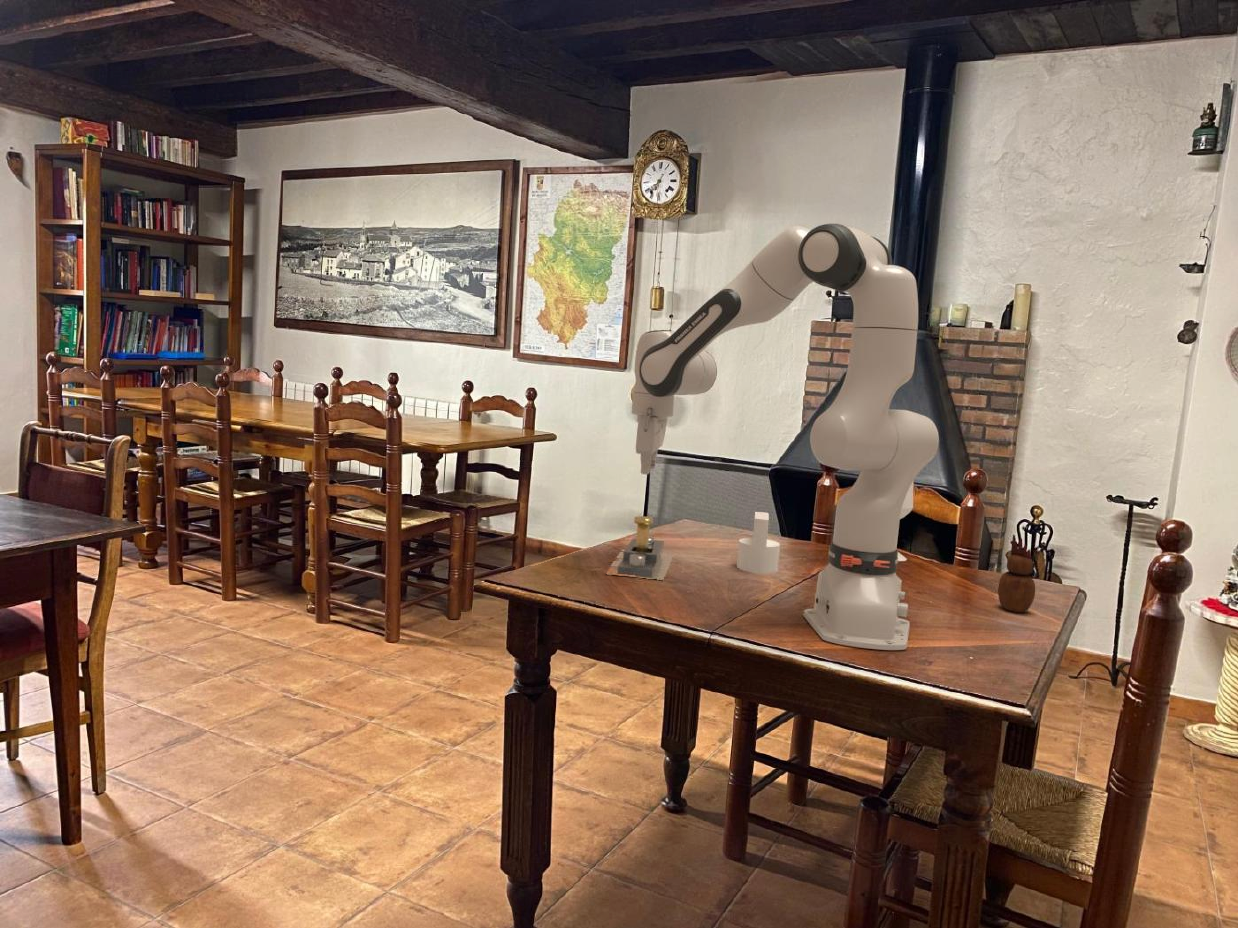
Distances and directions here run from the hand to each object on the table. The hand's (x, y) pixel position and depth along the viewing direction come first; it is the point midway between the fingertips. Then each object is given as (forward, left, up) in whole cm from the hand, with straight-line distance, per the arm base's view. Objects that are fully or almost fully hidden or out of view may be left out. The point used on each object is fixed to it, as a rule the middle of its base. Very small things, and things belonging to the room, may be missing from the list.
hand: (648, 471), depth 193 cm
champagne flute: (+34, -58, -21) cm, 70 cm away
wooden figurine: (-5, -76, -21) cm, 79 cm away
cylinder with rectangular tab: (+8, -25, -21) cm, 34 cm away
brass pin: (0, 0, -20) cm, 20 cm away
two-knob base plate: (0, 0, -21) cm, 21 cm away
